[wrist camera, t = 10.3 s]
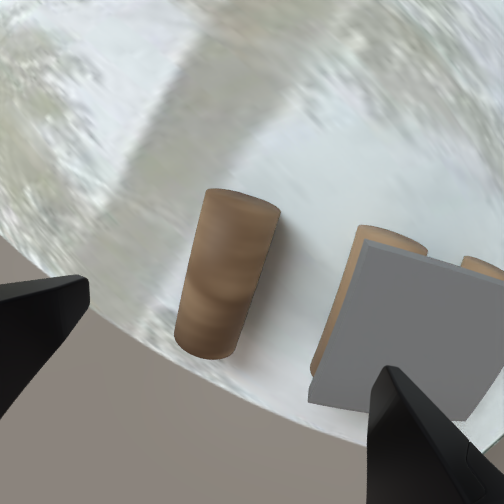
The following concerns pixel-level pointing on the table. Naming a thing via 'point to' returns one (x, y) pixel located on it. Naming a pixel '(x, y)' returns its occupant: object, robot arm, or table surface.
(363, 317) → the slab on rollers
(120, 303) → the table surface
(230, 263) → the roller
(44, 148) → the table surface
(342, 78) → the table surface
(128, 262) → the table surface
